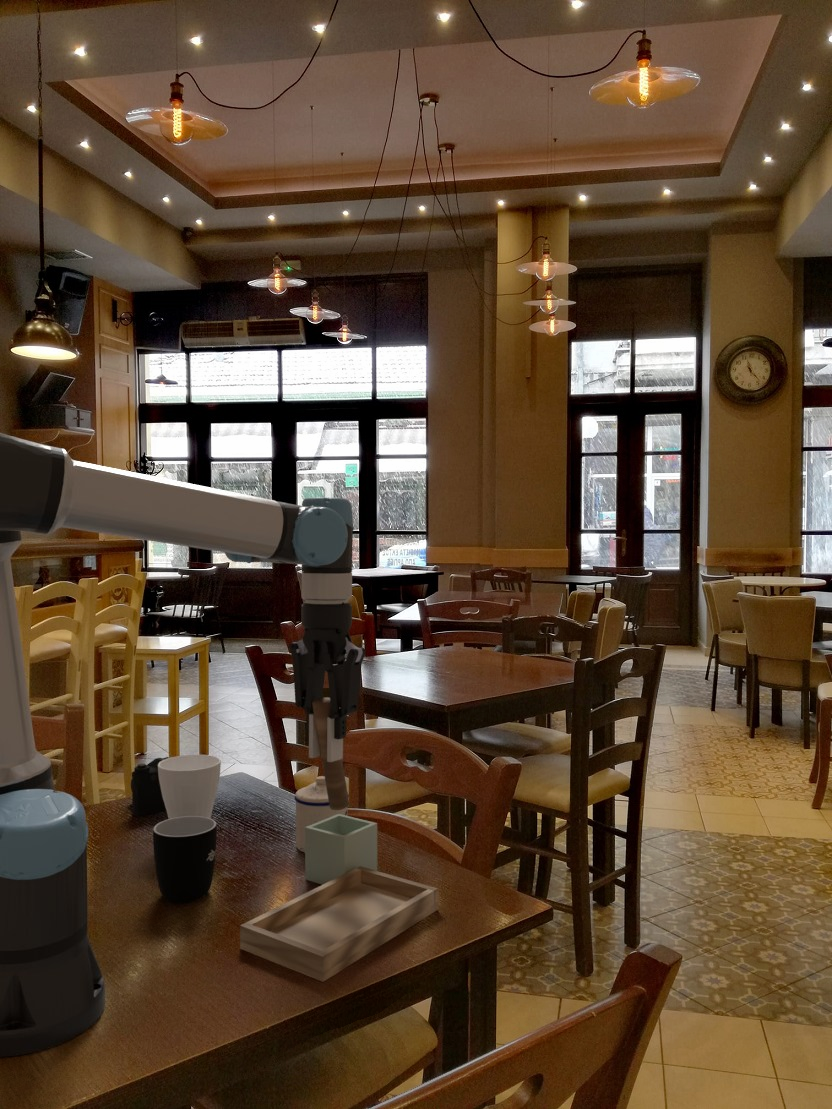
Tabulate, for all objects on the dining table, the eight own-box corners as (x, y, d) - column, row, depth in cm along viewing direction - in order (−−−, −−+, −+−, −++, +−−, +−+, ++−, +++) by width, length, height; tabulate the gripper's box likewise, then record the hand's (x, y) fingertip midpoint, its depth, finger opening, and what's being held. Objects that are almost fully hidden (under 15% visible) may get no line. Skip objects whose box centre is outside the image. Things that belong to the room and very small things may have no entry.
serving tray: (323, 981, 103) (322, 956, 102) (240, 948, 111) (240, 925, 111) (437, 909, 122) (437, 888, 122) (360, 886, 130) (360, 866, 130)
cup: (189, 856, 142) (188, 774, 142) (144, 844, 148) (144, 765, 147) (234, 836, 151) (233, 759, 151) (190, 826, 157) (190, 751, 156)
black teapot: (183, 791, 178) (182, 742, 178) (207, 803, 170) (207, 753, 170) (116, 805, 169) (115, 754, 169) (138, 819, 161) (138, 765, 161)
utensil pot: (344, 891, 128) (344, 837, 128) (305, 879, 133) (305, 827, 133) (377, 874, 135) (377, 823, 134) (338, 863, 139) (338, 813, 139)
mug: (215, 905, 124) (214, 834, 123) (149, 909, 122) (149, 838, 122) (219, 872, 136) (219, 807, 135) (160, 876, 134) (159, 811, 134)
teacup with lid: (355, 852, 144) (354, 782, 144) (300, 859, 141) (300, 787, 141) (337, 828, 155) (337, 763, 155) (286, 834, 152) (286, 768, 152)
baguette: (324, 818, 128) (323, 702, 127) (309, 814, 130) (308, 699, 129) (353, 806, 134) (351, 694, 133) (338, 802, 135) (336, 692, 134)
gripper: (384, 602, 128) (383, 761, 129) (304, 597, 138) (303, 745, 138) (352, 605, 122) (350, 772, 123) (270, 600, 132) (269, 754, 132)
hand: (325, 757), depth 130 cm, fingers closed on baguette, 3 cm apart
